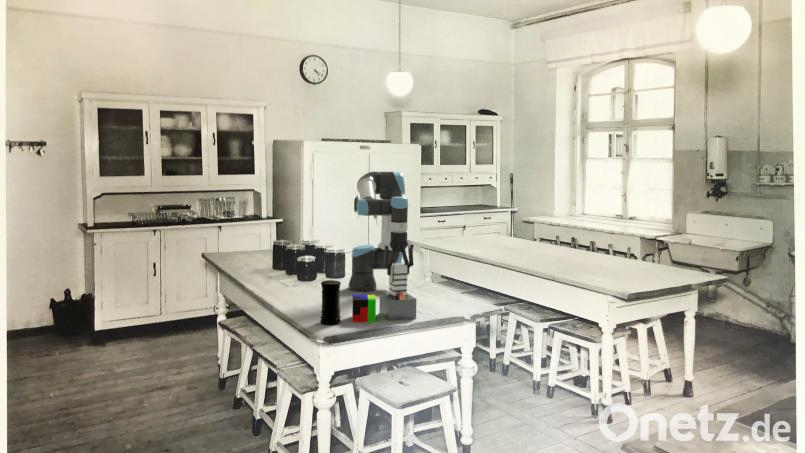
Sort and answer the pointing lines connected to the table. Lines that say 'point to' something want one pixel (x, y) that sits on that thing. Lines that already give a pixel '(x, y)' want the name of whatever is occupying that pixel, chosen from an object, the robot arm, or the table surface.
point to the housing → (398, 307)
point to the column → (398, 280)
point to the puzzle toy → (364, 308)
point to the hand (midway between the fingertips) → (398, 281)
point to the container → (330, 302)
